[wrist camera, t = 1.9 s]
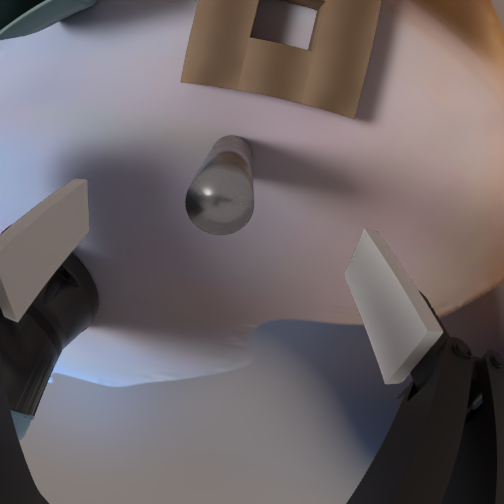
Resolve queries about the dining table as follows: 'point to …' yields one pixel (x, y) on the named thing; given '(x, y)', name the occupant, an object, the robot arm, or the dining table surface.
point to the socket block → (285, 53)
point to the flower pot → (35, 15)
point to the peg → (223, 188)
